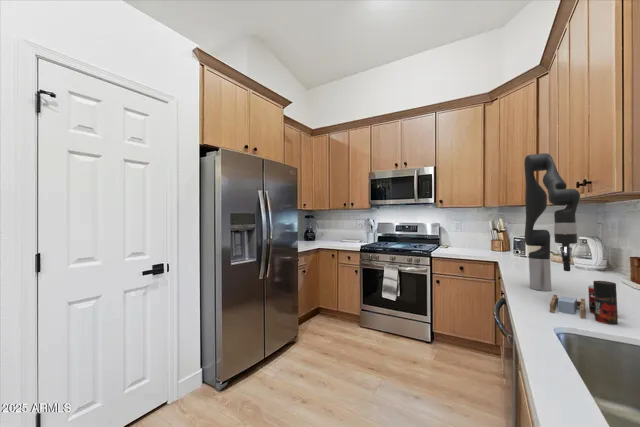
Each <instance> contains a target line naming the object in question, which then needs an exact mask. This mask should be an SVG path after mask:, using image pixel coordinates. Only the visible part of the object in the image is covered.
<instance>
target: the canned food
mask: <svg viewBox="0 0 640 427" xmlns="http://www.w3.org/2000/svg"><path fill="white" fill-rule="evenodd" d="M587 288H588V291H587V292H588V306H589V308H588V309H589V311H590V313H591V314H594V315H595V307H594V284H590V285H588V287H587ZM616 295H618V294H617V292H616Z"/></svg>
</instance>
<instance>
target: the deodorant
mask: <svg viewBox="0 0 640 427" xmlns="http://www.w3.org/2000/svg"><path fill="white" fill-rule="evenodd" d="M592 285H594V307H595V314H594V320H595V321H596V322H598V323H601V322H602V323H601V324H605V325H613V326H614V325H616V326H617V325H618V324H619V320H618V318H619V317H618V297H617V295H618V294H617V295H616V293H617V283H616V282H612V281H607V280H593V284H592Z"/></svg>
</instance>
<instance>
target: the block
mask: <svg viewBox="0 0 640 427" xmlns="http://www.w3.org/2000/svg"><path fill="white" fill-rule="evenodd" d="M558 298H559V299H558V303H557V310H558V311H557V312H559V313H562V314H568V315H574V316H575V315H576V313H577V311H578V309H577V301H578V300H577V298H573V297H567V296H560V297H558Z"/></svg>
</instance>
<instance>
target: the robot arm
mask: <svg viewBox="0 0 640 427" xmlns="http://www.w3.org/2000/svg"><path fill="white" fill-rule="evenodd" d="M523 162H524V164H523V165H524V176H525V177H524V178H525V198H524V199H525V202H524V203H525V227H524V228H525V229H524V243H525V244H526V246H528V247H529V246H530V247H540V248H539V249H537V250H533V251H530V252H529V253H528V267H529V288H530V289H532V290H535V291H542V292H543V291H544V292H551V291H552V276H551V275H552V274H551V273H552V271H551V234H550V232H549V230H547V229H534V226H535V224H536V221H537V220H538V219H539V218H540V217H541V215H542V214H543V213H544V212H545V211H546V209H547V206H548V202H549V203H551V204H552V205H557V206H558V205H559V206H561V205H566V207H565V208H563V209H562V208H561V209H557V210H555V211H554V212H553V213H554V214H553V215H554V216H553V217H554V225H553V226H554V228H553V230H554V232H553V234H554V243H555V244H561V246H560V247H559V252H560V257H561V259H562V260H561V261H562V264H563V271H564V272H570V271H571V263H572V257H573V256H572V252H573V247H572V246H571V245H575V244H578V231H577V230H578V228H577V224H576V223H577V221H576V212H577V207H578V205H579V202H580V199H581V194H580V193H581V192H580V191H579V190H577V189H576V188H567V187H568V186H567V183H566V182H565V181H564V179H563V178H562V177H561V175H560V173H559V172H558V169H557V166H556V164H555V161H554V158H553V157H552V155H551V154H550V153H543V152H542V153H535V154H534V153H533V154H528V155H526V156H525V158H524V161H523ZM539 171H540V172H541V171H546V172H545V174H544V175H543V177H542V184H543V185H544V187H545V189H546V190H547V192H546V191H545V189H544V188H543V187H542V186H541V185H540V184H539V183H538V181H537V179H536V176H535V172H539ZM547 193H548V195H547Z"/></svg>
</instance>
